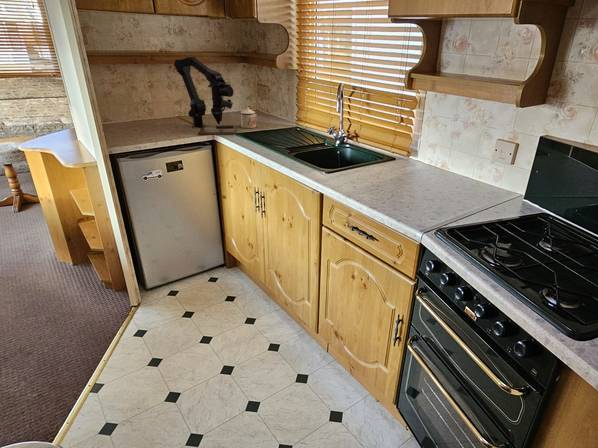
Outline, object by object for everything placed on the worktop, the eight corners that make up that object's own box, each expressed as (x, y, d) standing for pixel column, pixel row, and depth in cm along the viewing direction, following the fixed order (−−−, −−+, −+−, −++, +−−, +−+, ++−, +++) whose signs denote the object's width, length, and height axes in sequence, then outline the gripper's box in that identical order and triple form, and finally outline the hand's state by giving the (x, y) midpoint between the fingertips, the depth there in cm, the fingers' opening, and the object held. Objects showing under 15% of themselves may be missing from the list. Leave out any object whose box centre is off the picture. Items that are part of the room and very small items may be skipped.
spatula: (203, 130, 239) (203, 127, 238) (205, 128, 244) (204, 125, 244) (232, 130, 241) (232, 126, 241) (233, 127, 247) (233, 124, 246)
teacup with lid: (249, 129, 244) (247, 109, 239) (238, 127, 248) (236, 107, 244) (262, 126, 253) (261, 106, 248) (251, 124, 258) (250, 105, 253)
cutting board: (200, 131, 236) (200, 129, 235) (235, 131, 239) (235, 128, 238) (198, 135, 228) (198, 132, 227) (234, 134, 230) (234, 131, 230)
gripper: (229, 97, 228) (232, 125, 234) (232, 93, 244) (234, 119, 251) (209, 97, 226) (212, 125, 233) (213, 93, 243) (216, 119, 249)
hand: (219, 122), depth 242 cm, fingers open, 9 cm apart
